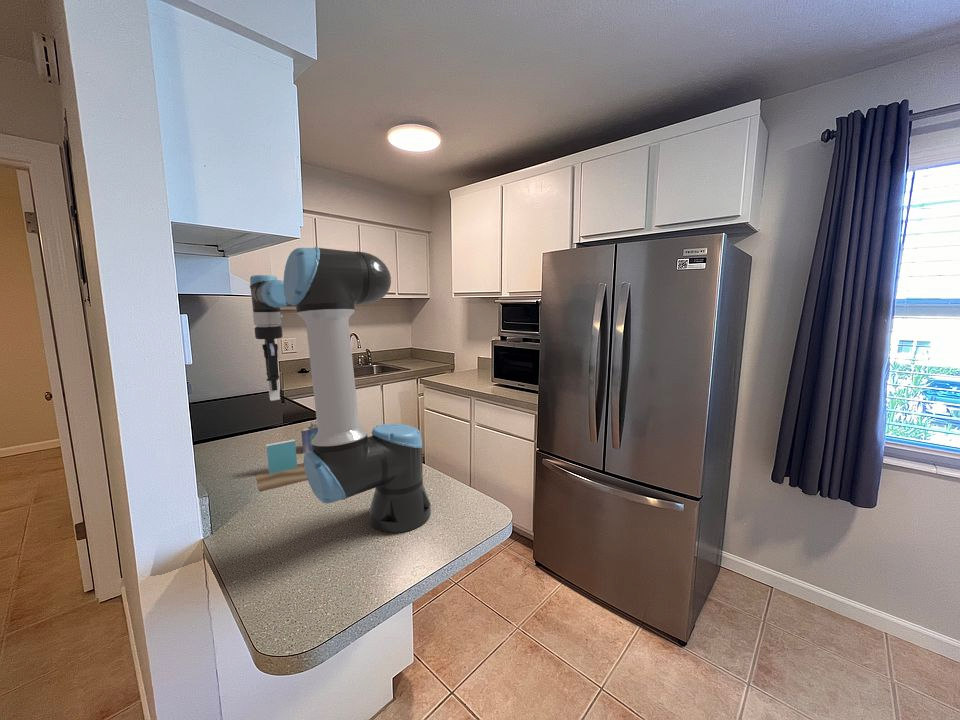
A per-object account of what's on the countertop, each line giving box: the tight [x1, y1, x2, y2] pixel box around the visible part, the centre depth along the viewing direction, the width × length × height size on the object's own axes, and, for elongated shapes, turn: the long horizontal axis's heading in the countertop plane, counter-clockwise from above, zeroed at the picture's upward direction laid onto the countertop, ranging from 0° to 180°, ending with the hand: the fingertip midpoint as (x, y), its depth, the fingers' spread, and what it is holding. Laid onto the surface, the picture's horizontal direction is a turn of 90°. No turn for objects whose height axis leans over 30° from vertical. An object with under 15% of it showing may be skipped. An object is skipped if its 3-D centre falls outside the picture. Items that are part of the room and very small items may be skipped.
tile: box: [265, 439, 298, 474], centre depth 122 cm, size 2×8×9 cm, turn 124°
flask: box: [300, 421, 318, 454], centre depth 139 cm, size 9×3×11 cm, turn 146°
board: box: [255, 462, 308, 493], centre depth 118 cm, size 14×15×1 cm
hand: (274, 399), depth 124 cm, fingers closed
